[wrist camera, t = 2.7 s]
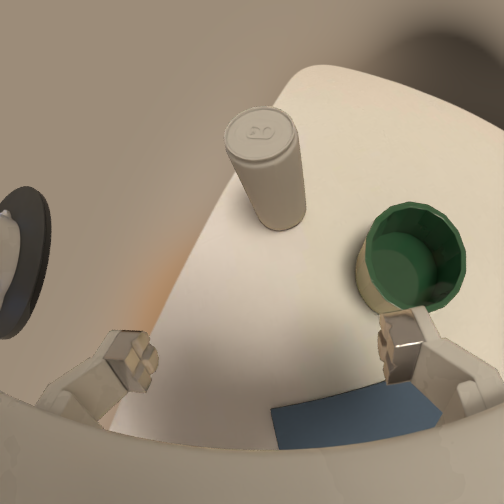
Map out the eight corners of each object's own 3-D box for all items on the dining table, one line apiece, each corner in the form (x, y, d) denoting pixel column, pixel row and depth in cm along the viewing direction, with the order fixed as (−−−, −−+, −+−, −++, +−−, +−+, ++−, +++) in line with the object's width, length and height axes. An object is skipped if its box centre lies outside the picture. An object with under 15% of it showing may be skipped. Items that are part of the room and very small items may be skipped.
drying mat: (294, 511, 20) (293, 513, 19) (270, 408, 23) (270, 409, 23) (451, 466, 17) (452, 467, 17) (440, 360, 21) (442, 360, 21)
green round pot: (368, 331, 24) (383, 328, 18) (344, 242, 26) (350, 216, 21) (448, 303, 23) (478, 292, 17) (421, 221, 25) (442, 192, 20)
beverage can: (262, 186, 30) (230, 105, 19) (309, 190, 29) (300, 105, 17) (253, 230, 29) (213, 160, 17) (303, 235, 27) (292, 164, 16)
